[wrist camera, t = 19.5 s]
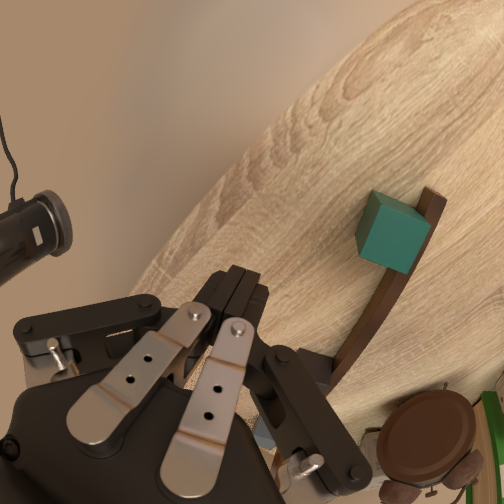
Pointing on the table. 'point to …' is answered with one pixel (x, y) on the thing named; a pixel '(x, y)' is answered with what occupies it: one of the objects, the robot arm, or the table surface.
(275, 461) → the end post
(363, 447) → the incense holder
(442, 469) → the alarm clock
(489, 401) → the hardback book
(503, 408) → the ink box
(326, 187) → the table surface
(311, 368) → the middle block
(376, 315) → the rail
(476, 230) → the table surface
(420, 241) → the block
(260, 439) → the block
